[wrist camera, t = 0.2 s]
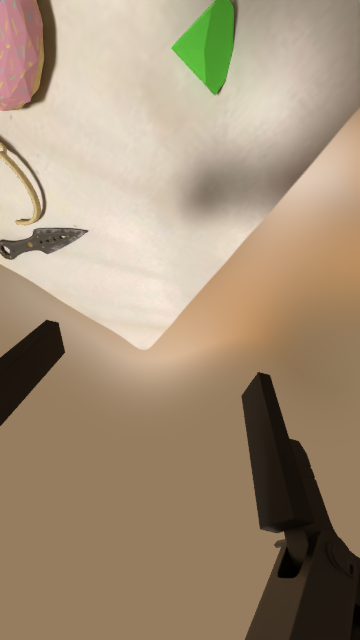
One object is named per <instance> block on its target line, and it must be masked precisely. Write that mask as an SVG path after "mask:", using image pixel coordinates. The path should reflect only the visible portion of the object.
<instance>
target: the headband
mask: <svg viewBox="0 0 360 640" xmlns="http://www.w3.org/2000/svg"><path fill="white" fill-rule="evenodd" d="M0 147H1V148H2V149H3V151H0V158H1V159H2V160H3V161H4V162H5V163H6V164H7V165H8V166H9V167H10V168H11V169H12V170H13V171H14V172H15V174H16V175H17V176H18V177H19V179H20V180H21V181H22V183H23V184H24V186H25V188H26V189H27V191H28V193H29V195H30V197H31V200H32V203H33V207H34V214H33V217H32V218H31V219H30V220H28V221H23V220H17V221H15V223H16V224H17V225H30V224H32V223H35V222H36V221H37V220H38V219H39V217H40V214H41V206H40V202H39V199H38V196H37V194H36V191H35V190H34V188H33V186H32V184H31V183H30V181H29V180H28V178H27V177H26V175H25V174H24V173H23V171H22V170H21V169H20V168H19V167H18V166H17V164H16V163H15V162H14V161H13V160H12V159H11V158H10V157H9V156H8V155H7V149H6V147H5V146H4V145H3V144H2V143H1V142H0Z"/></svg>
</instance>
